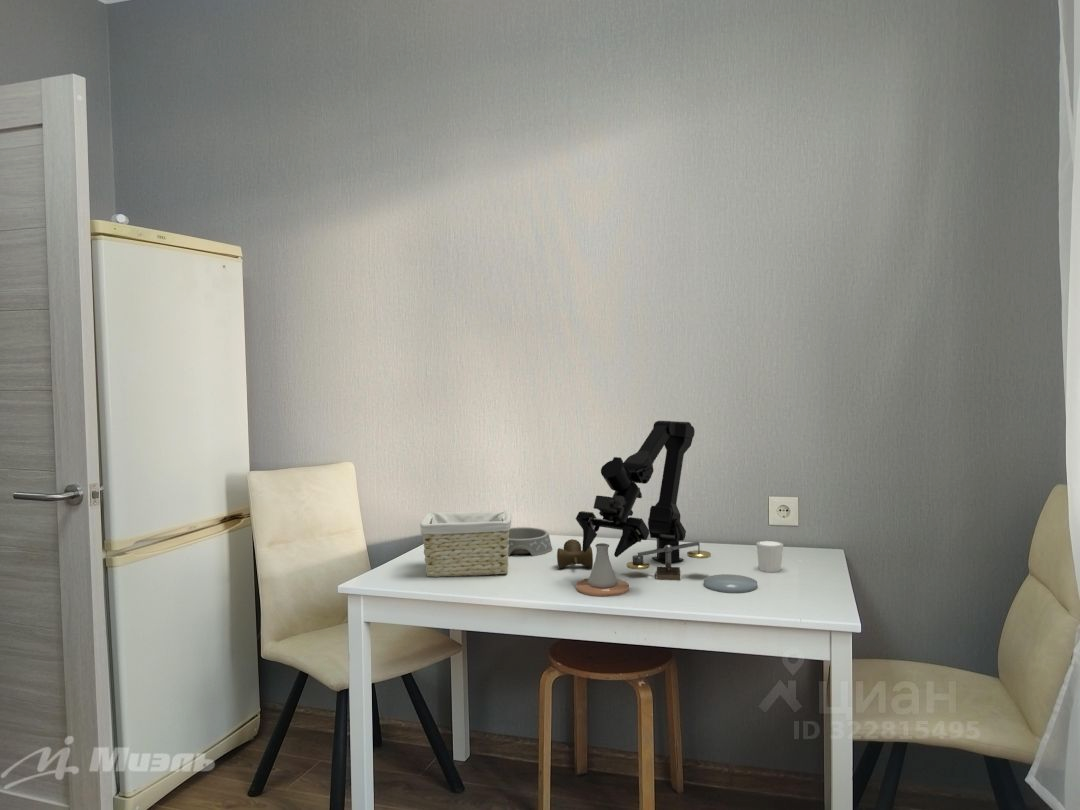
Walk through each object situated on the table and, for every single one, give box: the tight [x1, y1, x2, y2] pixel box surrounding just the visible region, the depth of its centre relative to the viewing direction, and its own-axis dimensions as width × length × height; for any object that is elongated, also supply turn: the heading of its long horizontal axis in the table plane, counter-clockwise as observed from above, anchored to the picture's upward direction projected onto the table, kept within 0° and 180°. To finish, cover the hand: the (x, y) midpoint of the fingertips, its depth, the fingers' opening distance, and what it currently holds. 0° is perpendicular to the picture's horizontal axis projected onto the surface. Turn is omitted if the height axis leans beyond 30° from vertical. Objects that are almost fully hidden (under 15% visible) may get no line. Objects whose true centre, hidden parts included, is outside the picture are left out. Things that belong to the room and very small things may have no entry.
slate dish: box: [703, 574, 758, 594], centre depth 205 cm, size 13×13×1 cm
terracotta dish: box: [575, 578, 630, 597], centre depth 203 cm, size 13×13×1 cm
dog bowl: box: [508, 526, 553, 558], centre depth 245 cm, size 17×18×5 cm
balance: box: [626, 541, 712, 581], centre depth 214 cm, size 22×8×9 cm, turn 81°
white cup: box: [756, 540, 784, 573], centre depth 219 cm, size 7×7×7 cm
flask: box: [587, 542, 618, 588], centre depth 203 cm, size 7×7×10 cm
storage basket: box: [419, 510, 512, 578], centre depth 223 cm, size 24×16×15 cm
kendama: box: [556, 539, 594, 570], centre depth 228 cm, size 6×10×20 cm
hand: (599, 553), depth 202 cm, fingers open, 9 cm apart
